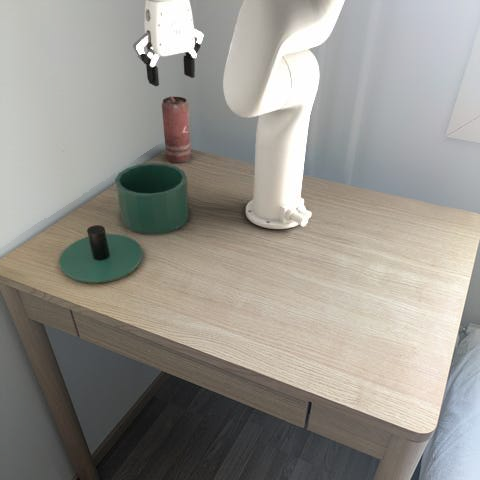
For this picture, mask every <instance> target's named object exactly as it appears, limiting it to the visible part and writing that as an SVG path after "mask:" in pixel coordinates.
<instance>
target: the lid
mask: <svg viewBox="0 0 480 480" xmlns="http://www.w3.org/2000/svg"><path fill="white" fill-rule="evenodd" d="M86 232H87V236H86V237H84V238H80V239H78V240H76V241H74V242H73V243H71V244H69V245H68V246H67V247H66V248H65V249H64V250H63V251H62V252H61V255H60V257H59V266H60V269H61V271H62V273H64V275H66V277H69V278H70V279H72V280H75V281H78V282H83V283H94V284H95V283H105V282H107V283H108V282H110V281H114V280H118V279H121V278H124V277H125V276H127V275H129V274H130V273H132V272H133V271H135V269H136V268H138V267H139V265H140V264H141V262H142V259H143V250H142V247H141V245H140V244H139V243H138V242H137V241H136V240H134V239H132V238H130V237H128V236H126V235H121V234H117V233H115V234H113V233H106V228H105V227H104V226H103V225H99V224H95V225H91V226H89V227H88V228H87V229H86Z"/></svg>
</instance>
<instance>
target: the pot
mask: <svg viewBox="0 0 480 480" xmlns="http://www.w3.org/2000/svg"><path fill="white" fill-rule="evenodd" d="M114 179H115V180H114V181H115V188H116V194H117V201H118V206H119V212H120V217H121V221H122V224H123V226H124V227H126V229H128V230H130V231H132V232H134V233H138V234H141V235H142V234H143V235H162V234H167V233H170V232H174V231H176V230H178V229H180V228H181V227H183V226H184V225H185V224H186V223H187V222H188V220H189V213H190V208H189V207H190V206H189V192H188V191H189V190H188V176H187V175H186V173H185V171H184V170H183V169H181V168H179V167H178V166H176V165H171V164H168V163H158V162H148V163H140V164H139V163H138V164H136V165H133V166H128V167H127V168H124V170H122V171H120V172H119V173H117V176H116V178H114Z"/></svg>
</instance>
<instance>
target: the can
mask: <svg viewBox="0 0 480 480" xmlns="http://www.w3.org/2000/svg"><path fill="white" fill-rule="evenodd" d="M161 112H162V122H163V124H162V125H163V135H164V146H165V148H164V149H165V157H166V159H167V160H168V162H170V163H173V164H183V163H187V162H188V161H190V159H191V157H192V151H191V150H192V149H191V132H190V131H191V130H190V113H189V112H190V111H189V103H188V101H187V99H186V98H185V97H182V96H168V97H165V98H164V99H162V103H161Z"/></svg>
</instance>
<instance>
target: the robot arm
mask: <svg viewBox="0 0 480 480" xmlns="http://www.w3.org/2000/svg"><path fill="white" fill-rule="evenodd" d="M345 2H346V0H243V2H242V4H241V6H240V8H239V12H238V16H237V18H236V22H235V26H234V30H233V34H232V38H231V42H230V46H229V50H228V54H227V57H226V61H225V67H224V71H223V76H222V77H223V78H222V92H223V96H224V100H225V103H226V105H227V107H228V108H229V110H230V111H231V112H232V113H234V114H235V115H236V116H238V117H242V118H254V117H258V120H257V124H256V129H255V147H254V148H255V150H254V172H253V173H254V175H253V198H252V199H251V200H250V201H248V203H247V204H246V206H245V216H246V218H247V220H248V221H250V222H251V223H252V224H254V225H256V226H258V227H261V228H265V229H269V230H283V229H284V230H285V229H291V228H294V227H297V226H298V225H299V226H301V227H306V226H307V224H308V222H309V219H310V218H311V217H312V212H311V211H310V210H307V209H306V206H305V205H304V203H305V199H304V198H303V197H301V193H302V185H303V175H304V166H305V165H304V164H305V158H306V157H305V156H306V149H307V148H306V147H307V140H308V131H309V125H310V124H309V123H310V118H311V117H310V116H311V112H312V109H313V105H314V102H315V99H316V95H317V92H318V88H319V82H320V66H319V64H318V60H317V58H316V56H315V54H314V53H313V52H312V51H311V50H310V49H312V48H315V47H318V46H320V45H322V44H323V43H324V42H326V41H327V40H328V38H329V37H330V35H331V33H332V31H333V29H334V27H335V25H336V23H337V20H338V18H339V15H340V13H341V10H342V8H343V5H344V3H345ZM143 16H144V17H143V19H144V20H143V21H144V34H143V35H142V36H141V37H139V39H137V40H136V41H135V42H134V43H133V44H132V47H133V49H134V51H135V53H136V54H137V57H138V58H139V60H141V61H142V62H143V64H144V65H145V68H146V78H147V81H148V84H150V85H152V86H154V87H159V85H160V79H159V67H158V66H157V65H156V64H157V62H158V60H159V58H160V57H170V56H175V55H180V54H185V55H183V74H184V75H185V76H187V77H189V78H191V79H193V78H196V77H195V76H196V74H195V73H196V72H195V71H196V62H195V59H196V58H198V57H197V56H198V53H199V50H200V49H201V44H202V41H203V38H204V34H203V32H201V31H199V30H197V29H196V28H195V25H194V17H193V11H192V6H191V2H190V0H145V3H144V15H143ZM145 47H146V50H147V51H146V52H145V50H144V48H145Z"/></svg>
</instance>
